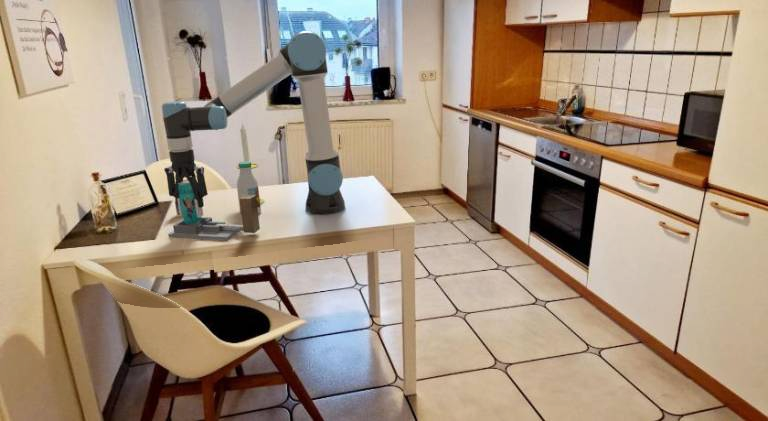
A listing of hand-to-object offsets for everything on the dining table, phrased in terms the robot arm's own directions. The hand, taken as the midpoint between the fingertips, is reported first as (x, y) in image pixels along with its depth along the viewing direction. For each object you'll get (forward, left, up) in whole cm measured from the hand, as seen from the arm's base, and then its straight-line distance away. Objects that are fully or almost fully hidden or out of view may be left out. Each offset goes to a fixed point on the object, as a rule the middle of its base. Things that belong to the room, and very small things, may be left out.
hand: (191, 215), depth 173 cm
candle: (-5, -34, -6) cm, 35 cm away
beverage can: (0, 0, -3) cm, 3 cm away
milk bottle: (-11, -21, -6) cm, 25 cm away
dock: (-5, 0, -6) cm, 8 cm away
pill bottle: (+15, -17, -6) cm, 24 cm away
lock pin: (-16, 0, -4) cm, 17 cm away
